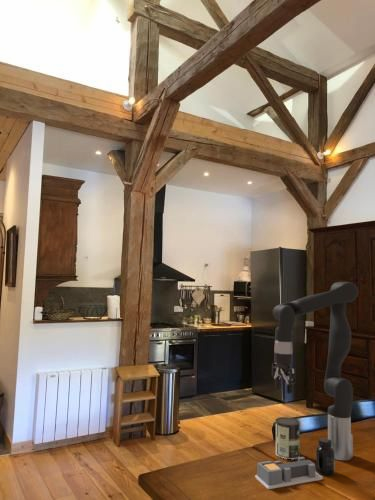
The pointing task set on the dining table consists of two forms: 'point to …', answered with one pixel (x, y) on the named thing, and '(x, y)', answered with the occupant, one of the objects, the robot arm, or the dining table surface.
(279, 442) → the coffee can
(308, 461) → the grey orange bar
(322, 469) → the supplement bottle
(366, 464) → the dining table surface
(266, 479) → the white grey holder tray
